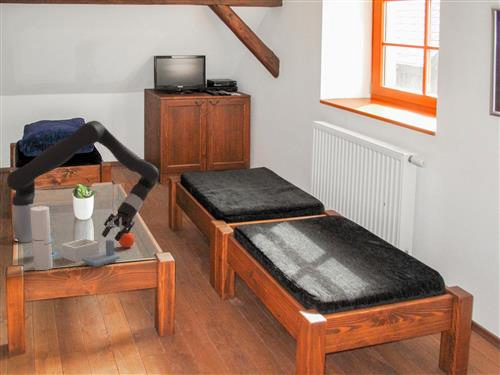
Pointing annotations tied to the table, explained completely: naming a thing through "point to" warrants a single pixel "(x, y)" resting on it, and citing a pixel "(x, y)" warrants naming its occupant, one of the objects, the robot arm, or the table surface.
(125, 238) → the clementine
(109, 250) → the lid
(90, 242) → the tub
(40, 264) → the cylindrical container
